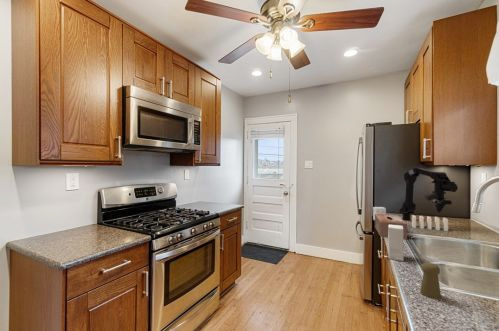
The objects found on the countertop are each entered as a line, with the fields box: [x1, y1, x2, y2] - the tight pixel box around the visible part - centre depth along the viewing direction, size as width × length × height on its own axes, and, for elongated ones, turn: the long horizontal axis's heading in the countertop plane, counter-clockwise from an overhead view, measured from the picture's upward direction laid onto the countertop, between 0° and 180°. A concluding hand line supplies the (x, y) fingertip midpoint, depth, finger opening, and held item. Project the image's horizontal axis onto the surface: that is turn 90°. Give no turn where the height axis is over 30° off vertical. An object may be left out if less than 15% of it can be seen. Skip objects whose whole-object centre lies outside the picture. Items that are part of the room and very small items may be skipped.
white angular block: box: [411, 214, 417, 228], centre depth 172 cm, size 2×5×8 cm, turn 155°
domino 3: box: [434, 216, 441, 230], centre depth 166 cm, size 2×5×8 cm, turn 155°
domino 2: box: [426, 216, 433, 229], centre depth 168 cm, size 2×5×8 cm, turn 155°
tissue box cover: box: [374, 213, 408, 240], centre depth 161 cm, size 26×14×10 cm, turn 159°
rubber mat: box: [407, 224, 451, 233], centre depth 169 cm, size 10×26×1 cm, turn 65°
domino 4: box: [442, 217, 449, 231], centre depth 164 cm, size 2×5×8 cm, turn 155°
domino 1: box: [418, 215, 425, 230], centre depth 170 cm, size 2×5×8 cm, turn 155°
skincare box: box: [387, 224, 405, 262], centre depth 119 cm, size 8×7×16 cm
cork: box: [419, 262, 442, 300], centre depth 85 cm, size 6×6×11 cm
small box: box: [372, 206, 387, 221], centre depth 195 cm, size 8×6×10 cm
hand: (438, 212), depth 165 cm, fingers closed
